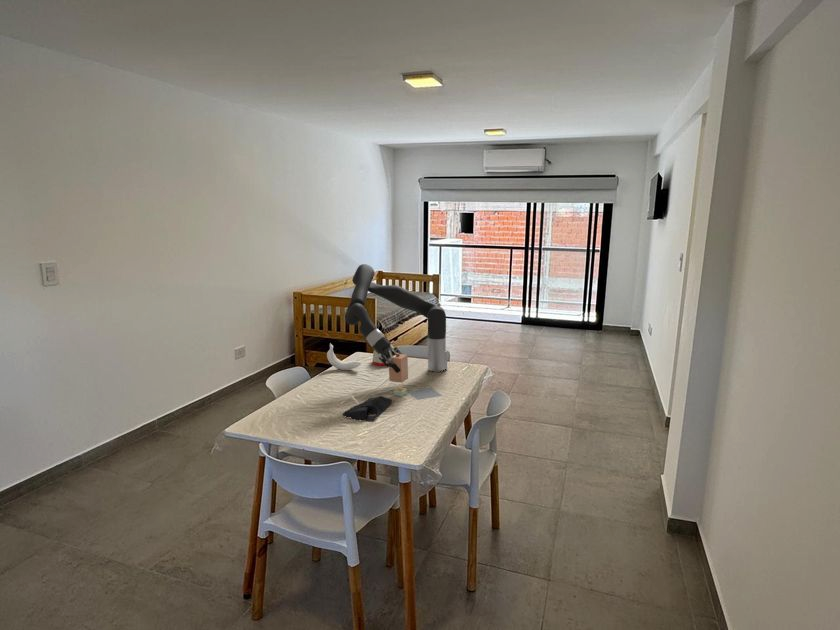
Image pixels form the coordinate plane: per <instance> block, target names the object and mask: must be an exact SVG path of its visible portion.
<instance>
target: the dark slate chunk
mask: <svg viewBox="0 0 840 630" xmlns="http://www.w3.org/2000/svg"><path fill="white" fill-rule="evenodd" d="M392 401H393V400H392V399H391V398H389V397H385V396H383V395H379V396H375V397H374V396H373V397H369V398H367V400H365V401H363V402H362V403H358V404H356V405H354V406H352V407H350V408H349V409H347V410H345V411H344V412H343V413H342V416H343V417H344V416H346V417H345V418H347V417H351V418H352V419H351V418H350V419H351V420H354V419H355V421H359V420H361V422H374V421H375V420H376V419H377V418H378V417H380V415H381V414H382V413H383V412H384V411H386V409H387V408H388V407H390V404H392Z"/></svg>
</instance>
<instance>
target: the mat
mask: <svg viewBox="0 0 840 630" xmlns="http://www.w3.org/2000/svg"><path fill="white" fill-rule="evenodd" d="M407 393H409V394H410V395H411V396H412V397H414V399H416V400H417V401H420V400H425V399H426V400H427V399H430V398H437V397H442V396H443V395H442V394H441V393H439V392H438V391H437V390H436V389H434V388H432V387H431V386H430V387H424V388H418V389H412V390H407Z"/></svg>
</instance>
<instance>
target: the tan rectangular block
mask: <svg viewBox="0 0 840 630" xmlns="http://www.w3.org/2000/svg"><path fill="white" fill-rule="evenodd" d="M388 359H390V357H388ZM392 360H393V361H394V363H395V364H396V365H397V366H398V367H399V369H400V371H399V372H398V373H396V372H395V370H394V369H393V368H392V367H388V378H389V382H393V383H394V382H395V383H401V384H403V383H404V382H405V381H407V380H408V379H409V367H408V365H409V361H408V354H403V353H402V354H400V353H396V355H394V356H393V357H392ZM390 362H391V361H390Z"/></svg>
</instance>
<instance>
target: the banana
mask: <svg viewBox="0 0 840 630" xmlns="http://www.w3.org/2000/svg"><path fill="white" fill-rule="evenodd" d="M326 358H327V360H328V362H329V363H330V365H331V366H333V367H334V368H335V369H338V370H340V371H350V370H354V369H357V368H358V367H360V366H361V365H362V361H359V360H351V361H342V360H341V359H339V358H337V356H336V354H335V353H334V345H333V344H332V343H331V342H330V343H329V350H328V351H327V353H326Z"/></svg>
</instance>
